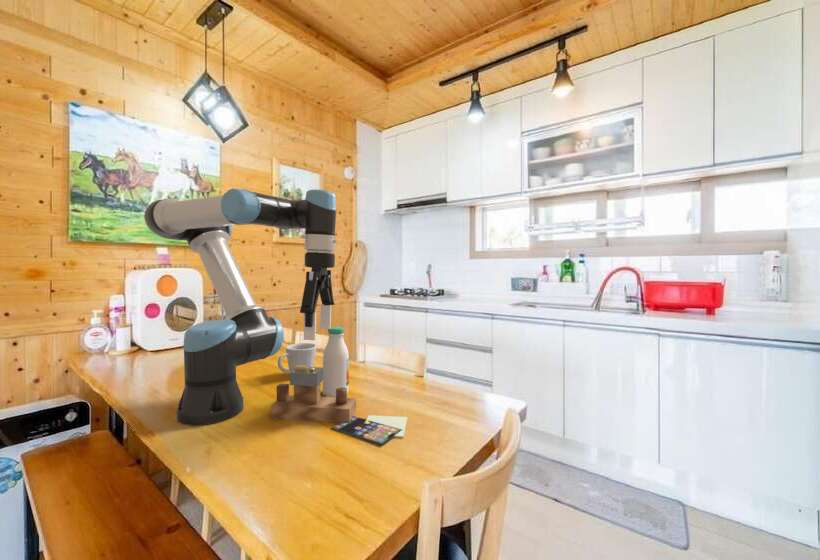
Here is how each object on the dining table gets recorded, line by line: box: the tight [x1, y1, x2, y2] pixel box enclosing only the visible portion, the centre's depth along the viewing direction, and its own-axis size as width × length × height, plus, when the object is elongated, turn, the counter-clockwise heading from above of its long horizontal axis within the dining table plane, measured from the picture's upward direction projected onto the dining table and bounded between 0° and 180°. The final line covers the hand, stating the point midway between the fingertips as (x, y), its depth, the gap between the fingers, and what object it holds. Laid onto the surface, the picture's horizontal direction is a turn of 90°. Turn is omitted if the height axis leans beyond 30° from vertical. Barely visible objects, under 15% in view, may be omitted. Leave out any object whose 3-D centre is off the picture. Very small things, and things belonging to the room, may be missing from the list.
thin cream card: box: [366, 414, 408, 439], centre depth 86 cm, size 10×10×1 cm
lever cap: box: [289, 365, 324, 386], centre depth 92 cm, size 7×5×4 cm
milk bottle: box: [322, 326, 350, 397], centre depth 107 cm, size 8×8×20 cm
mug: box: [277, 342, 318, 375], centre depth 122 cm, size 10×15×10 cm
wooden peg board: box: [270, 383, 357, 423], centre depth 92 cm, size 20×7×8 cm, turn 85°
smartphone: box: [330, 415, 402, 447], centre depth 84 cm, size 8×15×1 cm, turn 59°
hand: (318, 333), depth 93 cm, fingers open, 13 cm apart
